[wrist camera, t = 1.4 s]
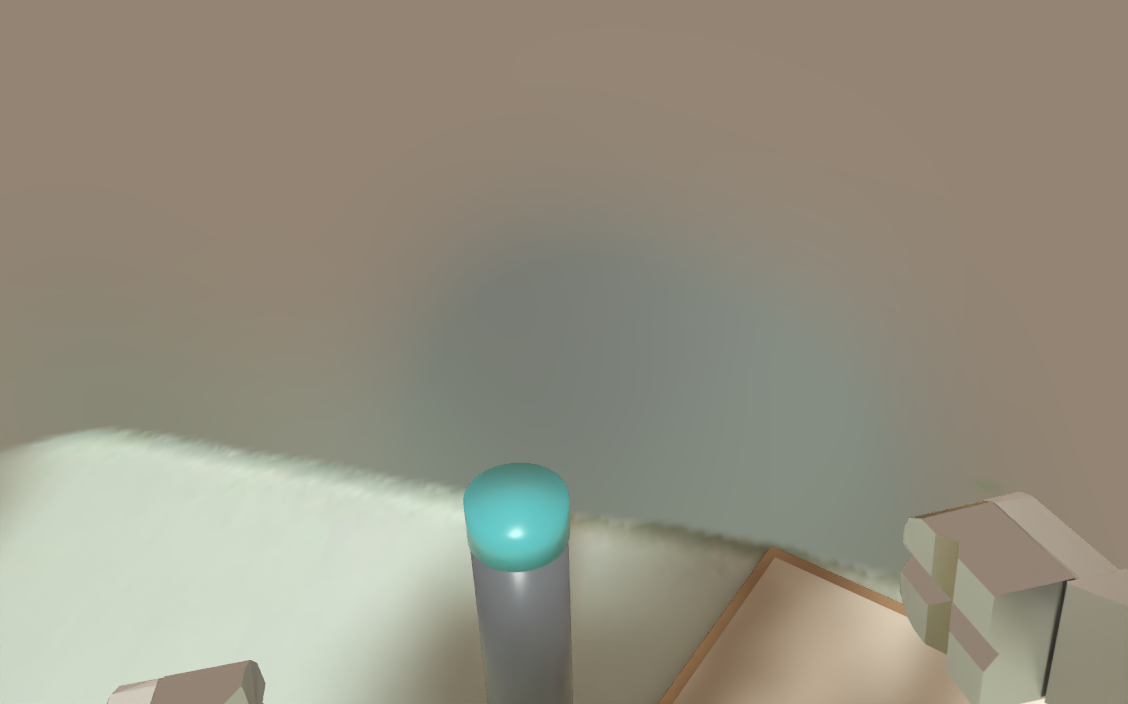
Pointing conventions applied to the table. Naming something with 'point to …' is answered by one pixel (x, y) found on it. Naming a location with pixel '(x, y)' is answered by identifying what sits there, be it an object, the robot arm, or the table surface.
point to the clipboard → (812, 646)
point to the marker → (522, 582)
